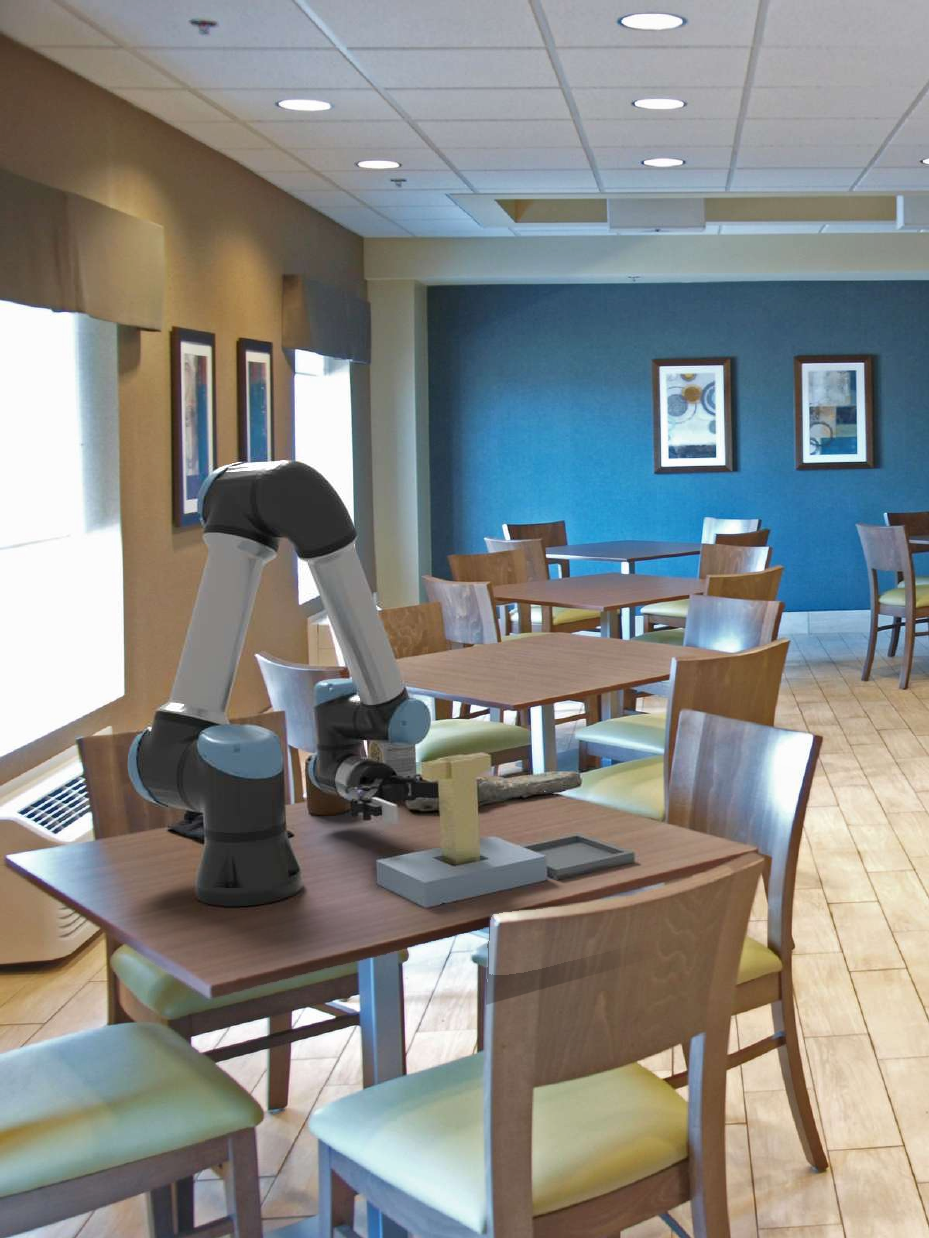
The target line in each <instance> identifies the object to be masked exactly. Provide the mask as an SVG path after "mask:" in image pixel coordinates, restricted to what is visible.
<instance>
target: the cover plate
mask: <svg viewBox="0 0 929 1238" xmlns="http://www.w3.org/2000/svg"><path fill="white" fill-rule="evenodd" d="M479 844H480V861H477V862H473V863H468V864H464V865H459V866H454V867H453V866H451V865H449V864H446V863H444V862H442V852H441V846H439V847H434V848H430V849H426V850H421V851H415V852H410V853H404V854H402V855H401V854H400V855H395V856H392V857H386V858H381V859H377V860H375V863H376V865H375V866H376V881H377V882H376V884H377V885H378V886H381V887H383V888H385V889H386V890H388V891H390V892H393V893H395V894H397V895H398V896H401V897H403V898H404V899H407V900H409V901H411V902H413V903H415V904H417V905H419V906H421V907H422V908H425V909H427V908H432V907H435V906H439V905H440V904H441V905H443V904H442V903H445V904H448V903H453V901H454V902H457V900H458V901H461V900H462V901H463V900H465V899H469V898H470V899H471V898H475V897H479V896H483V895H488V894H491V893H496V892H500V890H501V891H504V890H509V889H510V890H511V889H513V888H517V887H518V888H519V887H522V886H528V885H532V884H536V883H540V882H544V881H548V876H547V860H546V856H545V855H543V854H540V853H537V852H535V851H532V850H529V849H527V848H524V847H521V845H519V844H515V843H514V842H510V841H507V840H505V839H502V838H499V837H497V836H493V835H492V836H488V837H484V838H483V837H482V838H479ZM441 905H440V906H441Z"/></svg>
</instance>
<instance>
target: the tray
mask: <svg viewBox="0 0 929 1238" xmlns="http://www.w3.org/2000/svg"><path fill="white" fill-rule="evenodd" d="M520 846H521V847H524V848H527V849H529V850H532V851H535V852H537V853H540V854H543V855H545V856H546V860H547V878H551V879H553V880H555V881H559V880H564V879H567V878H571V877H576V876H580V875H581V876H582V875H584V874H585V875H586V874H588V873H593V872H598V871H603V870H606V869H610V868H614V867H615V868H616V867H619V866H625V865H628V864H633V863H635V862H636V861H635V851H632V850H629V849H626V848H623V847H621V846H620V847H619V846H617V845H614V844H611V843H608V842H606V841H603V840H600V839H596V838H594V837H591V836H588V835H585V834H582V833H573V834H570V835H569V834H568V835H564V836H559V837H555V838H549V839H545V840H540V841H535V842H532V843H526V844H521V845H520Z"/></svg>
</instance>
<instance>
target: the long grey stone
mask: <svg viewBox="0 0 929 1238" xmlns="http://www.w3.org/2000/svg"><path fill="white" fill-rule="evenodd" d="M580 772H581V771H568V770H567V771H566V770H565V771H546V772H542V773H536V774H529V775H528V774H527V775H525V774H524V775H518V776H512V777H506V778H502V779H489V778H487V777H484V776H480V775H478V776H477V775H476V777H477V799H478V808H479V807H482V806H484V805H489V804H495V803H501V802H503V801H507V800H508V799H510V798H516V799H518V798H520V797H522V798H523V799H525V798H528V797H531V796H534V795H535V796H536V795H549V794H556V793H558V794H559V793H562V792H563V793H564V792H566V791H571V790H573V789H574V790H575V789H577V788H580V787H581V786H582V784H583V779H582V778H581V773H580ZM544 791H546V792H544ZM548 793H549V794H548ZM409 796H411V794H409ZM405 805H406V807H407V808H408V809H410V810H415V811H420V812H423V813H424V812H429V811H430V812H432V811H440V810H439V798H417V799H416V800H414V801H410V800H405Z"/></svg>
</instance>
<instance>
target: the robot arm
mask: <svg viewBox="0 0 929 1238" xmlns="http://www.w3.org/2000/svg"><path fill="white" fill-rule="evenodd" d="M196 511H197V514H199V521H200V524H201V526H202V527H203V528H204V530H203V534H202V540H203V542H204V543H205V545H206V547H207V548H208V554H207V558H206V561H205V564H204V565H205V566H204V569H203V573H202V576H201V581H200V583H199V588H198V591H197V595H196V600H195V604H194V607H193V610H192V614H191V618H190V621H189V625H188V629H187V633H186V635H185V640H184V644H183V648H182V652H181V655H180V659H179V663H178V667H177V670H176V675H175V678H174V682H173V684H172V685H173V686H172V688H171V689H172V690H171V693H170V697H169V700H168V701H167V703H164V704H162V705H161V706H160V707H158V708H156V710H155V713H154V716H153V721H152V724H151V726H150V727H147V728H145V729H143V730H142V731H141V733H139V734H137V735H136V736H135V738H134V740H133V741H132V743H131V745H130V747H129V750H128V755H127V770H128V771H127V772H128V776H129V780H130V782H132V783H131V784H133V787H134V789H135V791H136V792H137V793H138V794H139V795H140V796H141V797H142V798H144V799H146V800H147V801H149V802H151V803H154V804H156V805H159V806H160V807H165V808H169V809H178V810H185V811H187V810H189V811H194V812H199V813H203V820H204V834H205V841H204V844H203V847H202V853H201V856H200V861H199V863H198V867H197V872H196V876H195V879H194V880H195V881H194V885H195V897H196V900H197V899H198V900H199V901H200V902H201V903H205V904H208V905H213V906H218V907H219V906H220V907H249V906H257V905H263V904H270V903H272V902H278V901H281V900H284V899H287V898H289V897H292V896H294V895H296V894H297V893H299V891H301V890H302V888H303V877H302V869H301V867H300V864H299V861H298V860H297V859H298V858H297V857H296V854H295V852H294V849H293V846H292V843H291V841H290V839H289V837H288V836H287V830H288V829H287V813H286V811H287V809H286V808H287V807H286V787H285V765H284V763H285V758H284V756H283V752H282V743H281V740H280V738H279V737H278V735H277V734H276V733H275V732H273V730H270V729H268V728H266V727H262V726H259V725H252V724H239V723H230V720H229V719H228V717H227V714H226V713H227V711H228V707H229V701H230V697H231V694H232V690H233V686H234V683H235V678H236V674H237V671H238V668H239V662H240V660H241V655H242V651H243V648H244V643H245V640H246V636H247V633H248V632H247V631H248V629H249V624H250V620H251V617H252V612H253V608H254V605H255V604H254V603H255V600H256V597H257V593H258V590H259V585H260V581H261V578H262V572H263V569H264V566H265V565H266V564H267V563H269V562H270V561H272V560H274V559H275V558H276V557H277V554H278V551H279V547H280V544H281V539H283V538H284V539H287V540H288V541H289V542H290V543H291V544H292V546H293V549H294V551H295V553H296V556H297V557H298V559H299V560H301V561H304V562H306V563H307V565H308V568H309V571H310V573H311V576H312V578H313V581H314V583H315V586H316V590H317V592H318V594H319V597H320V600H321V602H322V605H323V606H324V610H325V613H326V615H327V618H328V621H329V623H330V625H331V629H332V630H333V632H334V635H335V639H336V640H337V641H336V642H337V644H338V646H339V648H340V651H341V654H342V656H343V660H344V661H345V664H346V668H348V669H347V670H348V672H349V675H350V677H351V678H345V677H344V678H342V677H341V678H329V679H328V678H327V679H324V680H321V681H318V682H317V683H316V684H315V685H314V688H313V690H314V691H313V693H314V695H313V696H314V698H313V700H314V703H313V704H314V705H313V711H314V724H315V737H316V751H315V752H314V753H313V754H312V755H313V756H312V758H311V760H310V763H309V765H308V773H309V777H310V779H311V781H312V783H313V784H314V785H315V786H317V787H318V788H320V789H321V790H323V791H324V792H326V793H328V794H332V795H336V796H339V797H341V798H344V799H345V802H346V803H347V804H349V805H350V807H349V816H350V817H352V818H355V817H358V816H359V813H360V814H361V813H362V821H371V820H372V817H375V818H377V819H380V820H383V821H385V822H387V823H389V824H392V825H395V824H399V814H398V804H396V803H394V802H397V803H398V802H401V800H402V801H406V800H410V801H414V800H416V799H417V798H439V789H438V781H434V782H429V781H426V780H423V779H422V774H420V773H416V775H414V778H413V777H401V776H398V775H397V773H396V772H395V771H394V769H393V768H392V767H390V766H389V765H387V764H384V763H381V762H378V761H375V760H373V759H370V758H368V757H366V756H363V748H362V747H363V741H365V742H367V741H374V742H381V743H388V744H392V745H396V746H397V745H415V746H417V745H419V744H420V743H421V742H423V740H425V738H426V737H427V736H428V733H429V731H430V728H431V724H432V717H431V716H432V715H431V712H430V708H429V707H428V705H427V704H426V703H425V702H424V701H422V700H421V699H419V698H418V699H417V698H415V697H410V696H409V695H410V694H409V692H408V689H407V687H406V685H405V681H404V679H403V676H402V673H401V670H400V669H399V664H398V661H397V660H396V657H395V654H394V652H393V648H392V646H391V643H390V640H389V637H388V635H387V632H386V629H385V626H384V624H383V621H382V618H381V615H380V613H379V610H378V608H377V605H376V601H375V599H374V596H373V594H372V591H371V589H370V585H369V583H368V580H367V577H366V574H365V572H364V570H363V565H362V563H361V560H360V558H359V556H358V552H357V550H356V547H355V543H356V542H357V539H358V532H357V530H356V528H355V525H354V522H353V519H352V518H351V516H350V515H351V514H350V513H349V510H348V508H347V506H346V505H345V503H344V501H343V500H342V498H341V496H340V494H339V493H338V492H337V490H336V489H335V488H334V486H333V485H332V484H331V483H330V481H328V480H327V479H326V477H325V476H324V475H322V473H320V472H319V471H318V470H316V469H315V467H312V466H310V465H308V464H307V463H304V462H301V461H298V460H291V459H284V460H283V459H282V460H275V461H260V462H259V461H258V462H256V461H255V462H254V461H253V462H250V461H238V462H235V463H234V462H233V463H232V464H226V465H223V466H221V467H220V466H219V467H218V468H217V469H215V470H213V471H212V472H211V473H210V474H209V475H208V476H206V478H205V480H204V481H203V483H202V485H201V487H200V489H199V492H198V496H197V501H196ZM410 788H411V796H409V795H408V793H409V791H410Z"/></svg>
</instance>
